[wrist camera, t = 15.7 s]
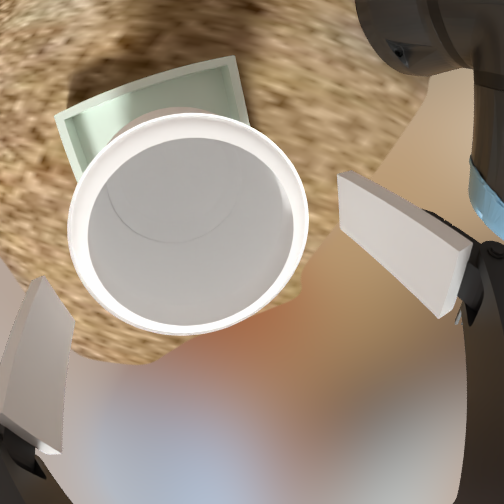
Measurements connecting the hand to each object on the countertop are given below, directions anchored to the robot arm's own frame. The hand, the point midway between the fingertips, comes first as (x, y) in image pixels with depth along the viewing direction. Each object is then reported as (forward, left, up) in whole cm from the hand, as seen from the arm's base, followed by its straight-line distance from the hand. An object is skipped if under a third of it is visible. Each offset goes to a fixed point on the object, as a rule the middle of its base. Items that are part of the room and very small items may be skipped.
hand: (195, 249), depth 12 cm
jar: (0, 0, -15) cm, 15 cm away
